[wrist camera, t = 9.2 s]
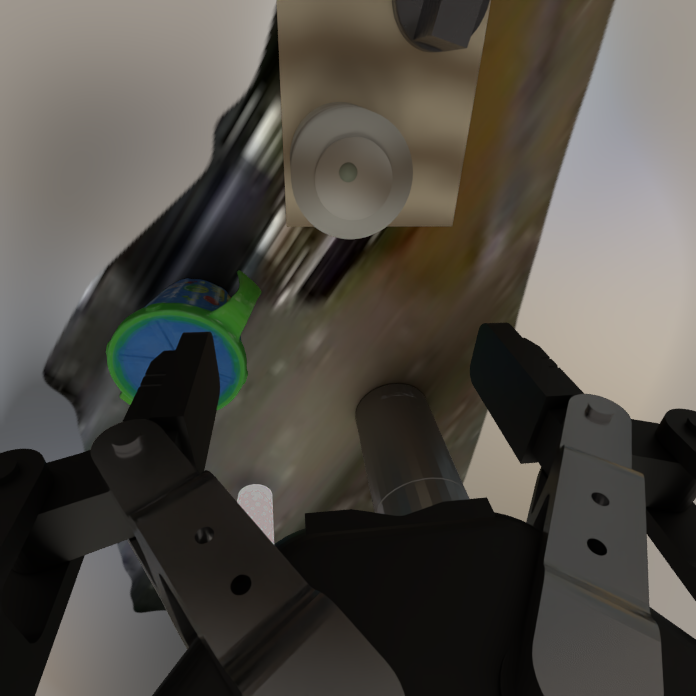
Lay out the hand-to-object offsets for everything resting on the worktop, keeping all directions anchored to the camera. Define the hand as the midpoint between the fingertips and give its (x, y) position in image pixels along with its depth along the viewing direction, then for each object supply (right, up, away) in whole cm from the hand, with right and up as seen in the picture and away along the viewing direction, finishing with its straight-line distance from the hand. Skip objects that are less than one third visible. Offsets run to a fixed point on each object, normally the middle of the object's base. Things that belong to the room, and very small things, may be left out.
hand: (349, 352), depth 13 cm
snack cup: (-15, +4, +29) cm, 33 cm away
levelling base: (+2, +22, +20) cm, 30 cm away
